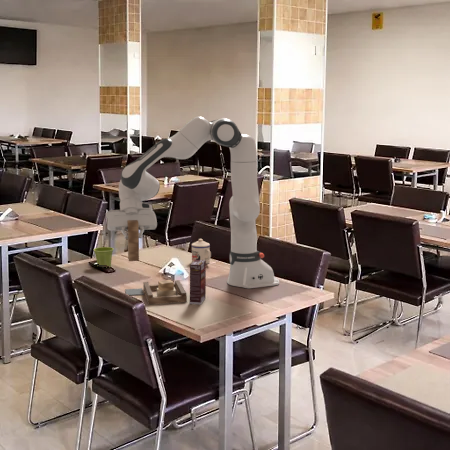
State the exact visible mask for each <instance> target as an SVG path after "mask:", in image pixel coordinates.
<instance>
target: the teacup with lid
mask: <svg viewBox="0 0 450 450" xmlns="http://www.w3.org/2000/svg"><path fill="white" fill-rule="evenodd" d="M210 246H211V245H210V243H209V242H206V241H204V240H203V239H202V238H198V240H196V241H194V242H192V243H191V264H192V263H193V262H194V261H195V260H206V265H207V264H209V263H210V259H211V257H212V252H211V251H210V248H211V247H210Z"/></svg>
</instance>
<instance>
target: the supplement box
mask: <svg viewBox="0 0 450 450" xmlns="http://www.w3.org/2000/svg"><path fill="white" fill-rule="evenodd" d="M206 273H207V264H206V260H195V261H194V262H193V263H192V262H191V264H189V304H190V305H202V303H203V302H204V301H205V300H206V297H207V296H206V291H207V288H206V287H207V280H206V279H207V277H206V275H207V274H206Z"/></svg>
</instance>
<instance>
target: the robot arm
mask: <svg viewBox="0 0 450 450" xmlns="http://www.w3.org/2000/svg"><path fill="white" fill-rule="evenodd" d="M208 141H213V142H214V143H216V144H217V145H219V146H223V147H226V148H229V152H230V182H231V191H232V196H231V197H230V199H229V203H228V207H229V224H230V251H229V263H230V265H229V273H228V278H227V281H226V283H227V284H228V285H229V286H233V287H239V288H245V289H254V288H255V289H256V288H263V287H272V286H278V285H280V280H279V278H277V277H275V274H274V270H273V268H272V267H271V265H269V264H268V263H267V262H265V261H264V260H263V258H265V254H264V253H263V252H261V251H258V250H257V246H258V244H257V242H258V241H257V239H258V236H257V235H258V232H257V226H256V225H257V224H256V220H257V218H258V217H259V215H260V212H261V208H260V196H259V195H260V194H259V193H260V192H259V185H258V155H257V153H258V151H257V145H256V141H255V139H254V137H253V136H252V135H250V134H246V133H244V134H243V133H242V132H241V131H240V129H239V127H238V125H237V124H236V123H235V122H234V121H233V120H232V119H229V118H226V117H221V118H218V119H217V118H216V119H215V120H211V121H209V120H208V119H206V118H205V117H203V116H199V115H198V116H195V117H193V118H192V119H191V120H189V121H188V122H187V123H185V124H184V125H183V126H182V127H181V128H180V129H179V130H178V131H177V132H176V133H175V134H174V135H172V136H170V137H168V138H163V139H161V140H160V141H158V142H157V143H155V144H154V145H153V146H152V147H150V148H149V149H148V150H146V152H144V153H142V155H140V156H139V157H138V158H137V159H136V160H134V161H132V162H130V163H128V164H127V165H126V166H125V167H123V169H122V171H121V173H120V180H119V184H118V197H119V200H120V201H119V209H114V210H113V209H110V210H108V211H106V213H105V219H106V220H107V221H106V222H107V225H106V226H107V228H106V229H107V230H108V231H110V232H114V231H119V232H120V231H121V233H122V235H123V236H124V239H125V240H126V239H127V240H128V232H126V231H128V223H127V220H138V231H139V239H143V233H144V232H145V230H147V231H148V230H149V231H150V230H156V229H157V227H158V222H157V221H158V220H157V215H156V213H155V211H154V210H153V205H152V204H151V203H146V202H145V201H148V200H150V199H153V198H155V197H156V196H157V195H158V194H159V192H160V188H161V186H160V185H161V184H160V181H159V180H158V179H157V177H155V176H153V175H152V174H151V173H149V172H148V171H147V170H148V169H149V168H151V167H152V166H153V165H155V163H156V162H158V161H159V160H160V159H162V158H172V159H177V160H186V159H189V158H192V156H194V155H195V154H196V152H198V150H199V149H200V148H201V147H202V146H203V145H204V144H205V143H207V142H208Z"/></svg>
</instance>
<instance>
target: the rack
mask: <svg viewBox="0 0 450 450" xmlns="http://www.w3.org/2000/svg"><path fill="white" fill-rule="evenodd" d="M157 288H158V284H157V283H156V284H149V281H144V282H143V288H142V290H143V293H144V295H145V298H146V301H147V303H148V305H159V304H161V305H163V304H177V303H188V302H187V301H188V298H187V297H188V295H187V291H186V289H185V288H184V286H183V284H182V283H181V281H180V280H179V279H175V280H174V288H175V290H176V295H173V296H157V295H156V296H154V295H153V291H157Z"/></svg>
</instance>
